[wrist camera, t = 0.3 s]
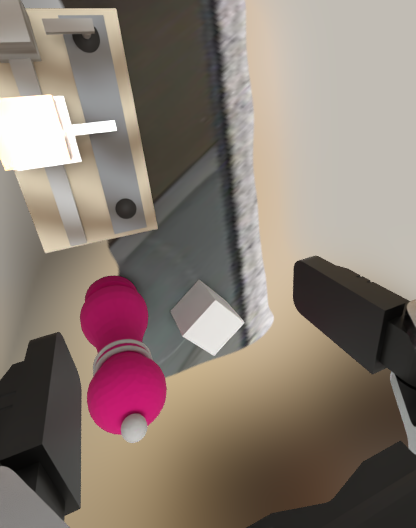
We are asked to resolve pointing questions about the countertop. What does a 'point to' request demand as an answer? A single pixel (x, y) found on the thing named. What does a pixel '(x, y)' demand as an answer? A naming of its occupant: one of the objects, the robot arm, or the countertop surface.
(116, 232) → the board
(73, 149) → the slider
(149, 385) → the pepper mill
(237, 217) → the countertop surface
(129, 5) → the countertop surface
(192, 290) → the white cube
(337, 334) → the robot arm
